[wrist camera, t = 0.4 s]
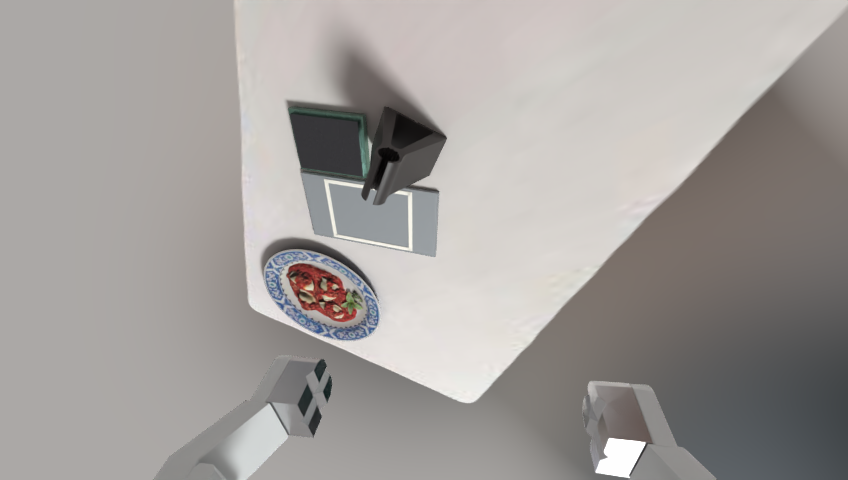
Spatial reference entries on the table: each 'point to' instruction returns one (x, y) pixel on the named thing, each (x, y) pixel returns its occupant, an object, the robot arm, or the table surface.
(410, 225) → the marked board
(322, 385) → the robot arm
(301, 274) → the ceramic plate
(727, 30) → the table surface
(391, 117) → the phone stand
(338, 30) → the table surface
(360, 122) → the ink pad
